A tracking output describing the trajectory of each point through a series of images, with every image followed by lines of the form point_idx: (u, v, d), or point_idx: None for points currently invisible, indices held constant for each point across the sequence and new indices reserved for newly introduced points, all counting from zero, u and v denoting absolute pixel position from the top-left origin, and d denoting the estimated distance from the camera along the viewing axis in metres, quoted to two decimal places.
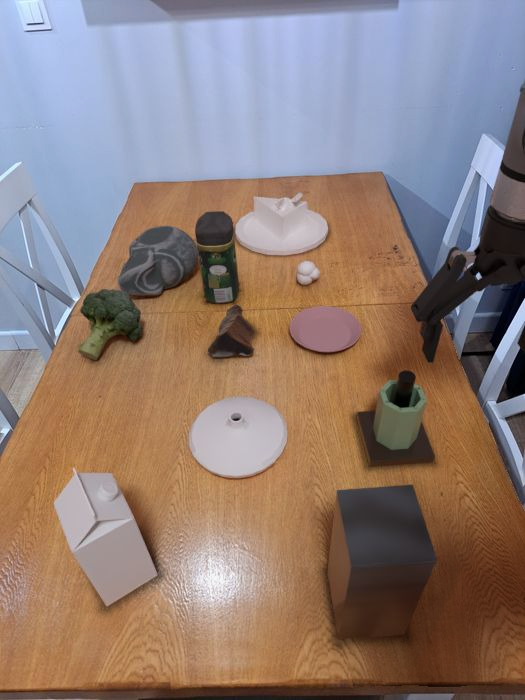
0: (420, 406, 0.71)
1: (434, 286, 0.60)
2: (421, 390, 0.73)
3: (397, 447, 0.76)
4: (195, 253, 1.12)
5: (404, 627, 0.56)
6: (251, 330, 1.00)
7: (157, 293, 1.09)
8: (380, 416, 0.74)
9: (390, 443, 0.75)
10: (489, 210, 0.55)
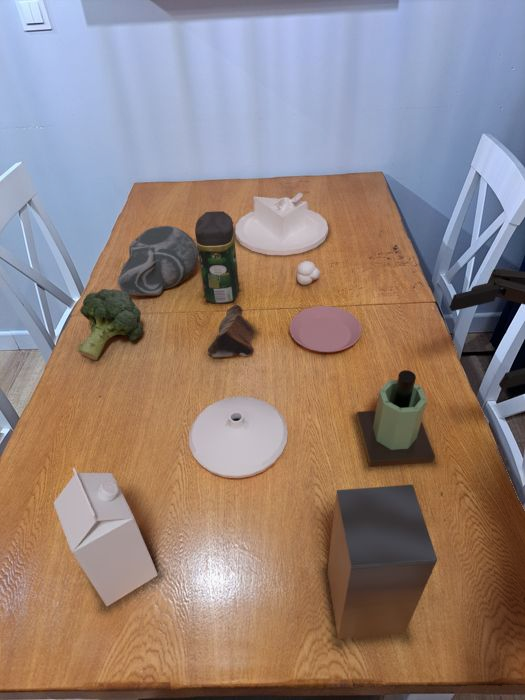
0: (420, 406, 0.71)
1: None
2: (421, 390, 0.73)
3: (397, 447, 0.76)
4: (195, 253, 1.12)
5: (404, 627, 0.56)
6: (251, 330, 1.00)
7: (157, 293, 1.09)
8: (380, 416, 0.74)
9: (390, 443, 0.75)
10: None
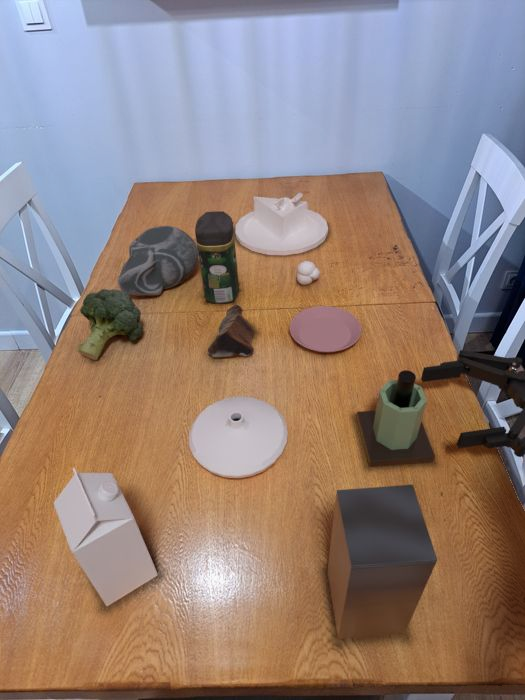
0: (420, 406, 0.71)
1: None
2: (421, 390, 0.73)
3: (397, 447, 0.76)
4: (195, 253, 1.12)
5: (404, 627, 0.56)
6: (251, 330, 1.00)
7: (157, 293, 1.09)
8: (380, 416, 0.74)
9: (390, 443, 0.75)
10: None
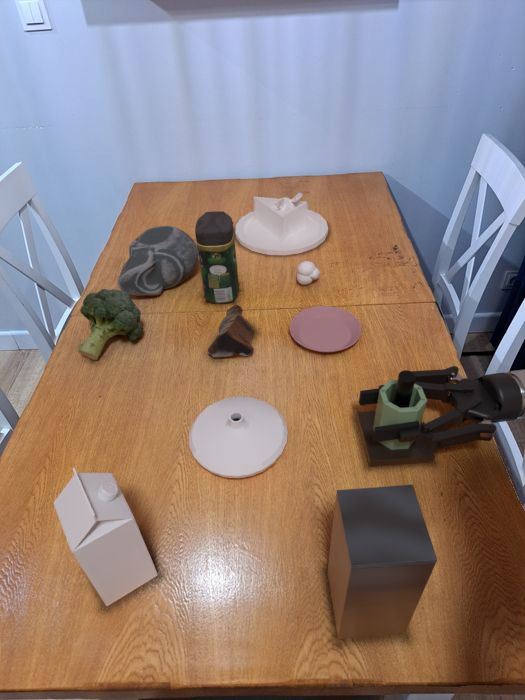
0: (420, 406, 0.71)
1: None
2: (421, 390, 0.73)
3: (397, 447, 0.76)
4: (195, 253, 1.12)
5: (404, 627, 0.56)
6: (251, 330, 1.00)
7: (157, 293, 1.09)
8: (380, 416, 0.74)
9: (390, 443, 0.75)
10: None
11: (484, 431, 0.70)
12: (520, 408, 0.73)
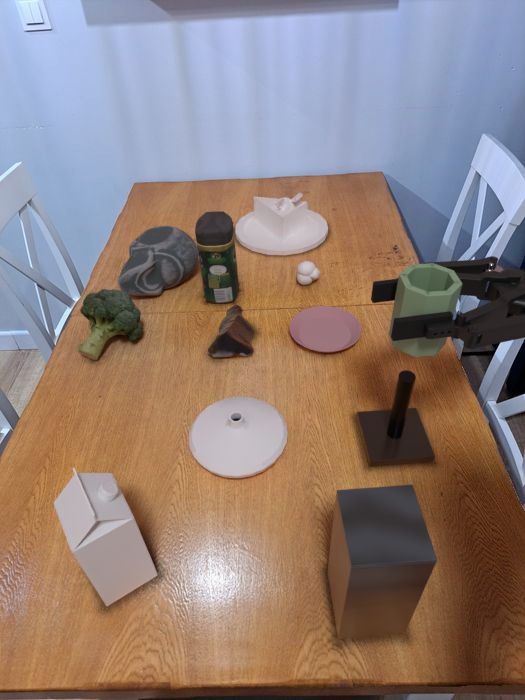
0: (454, 290, 0.53)
1: None
2: (454, 273, 0.56)
3: (421, 353, 0.58)
4: (195, 253, 1.12)
5: (404, 627, 0.56)
6: (251, 330, 1.00)
7: (157, 293, 1.09)
8: (400, 309, 0.57)
9: (412, 347, 0.58)
10: None
11: None
12: None
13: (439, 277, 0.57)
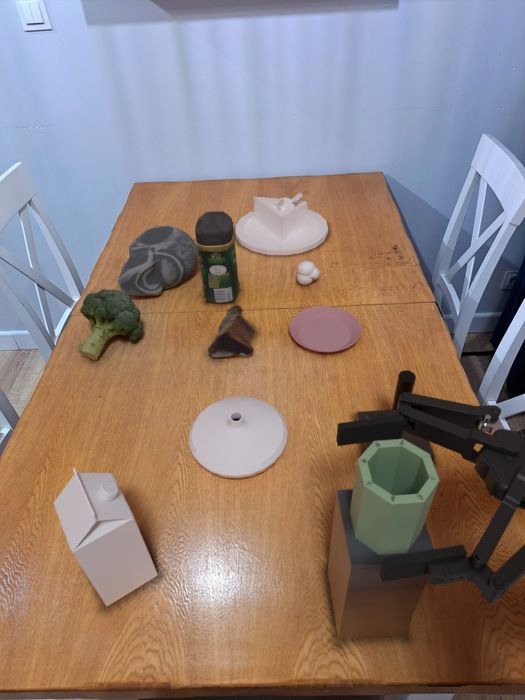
0: (428, 492, 0.40)
1: None
2: (429, 460, 0.42)
3: (388, 552, 0.45)
4: (195, 253, 1.12)
5: (404, 627, 0.56)
6: (251, 330, 1.00)
7: (157, 293, 1.09)
8: (359, 503, 0.43)
9: (376, 545, 0.45)
10: None
11: None
12: None
13: (411, 459, 0.44)
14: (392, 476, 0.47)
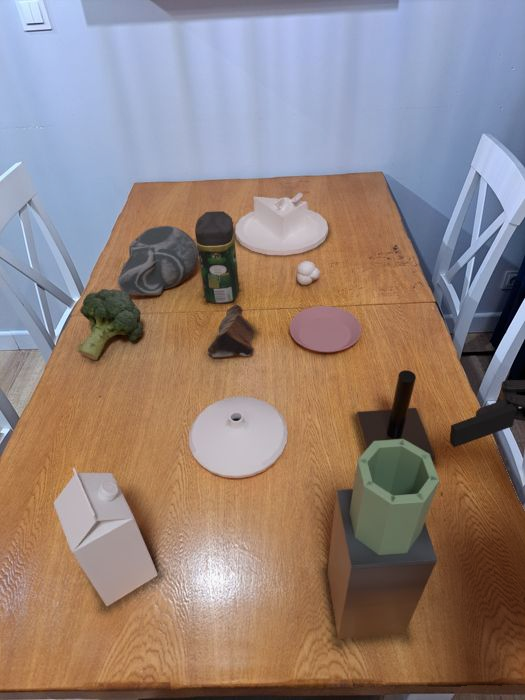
0: (428, 492, 0.40)
1: None
2: (429, 460, 0.42)
3: (388, 552, 0.45)
4: (195, 253, 1.12)
5: (404, 627, 0.56)
6: (251, 330, 1.00)
7: (157, 293, 1.09)
8: (359, 503, 0.43)
9: (376, 545, 0.45)
10: None
11: None
12: None
13: (411, 459, 0.44)
14: (392, 476, 0.47)
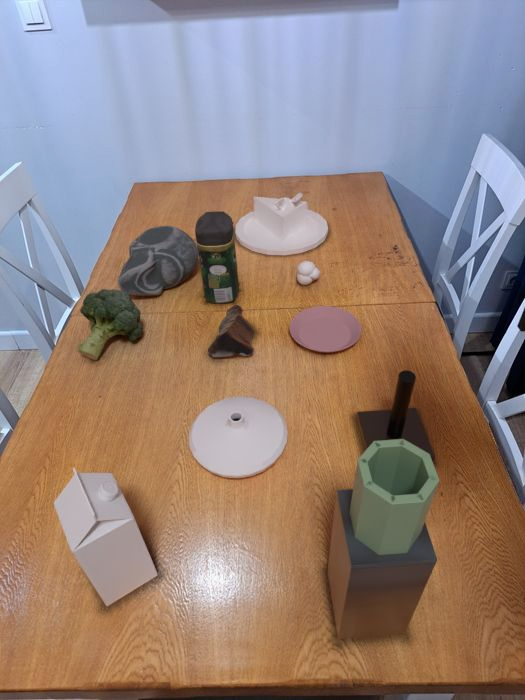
0: (428, 492, 0.40)
1: None
2: (429, 460, 0.42)
3: (388, 552, 0.45)
4: (195, 253, 1.12)
5: (404, 627, 0.56)
6: (251, 330, 1.00)
7: (157, 293, 1.09)
8: (359, 503, 0.43)
9: (376, 545, 0.45)
10: None
11: None
12: None
13: (411, 459, 0.44)
14: (392, 476, 0.47)
